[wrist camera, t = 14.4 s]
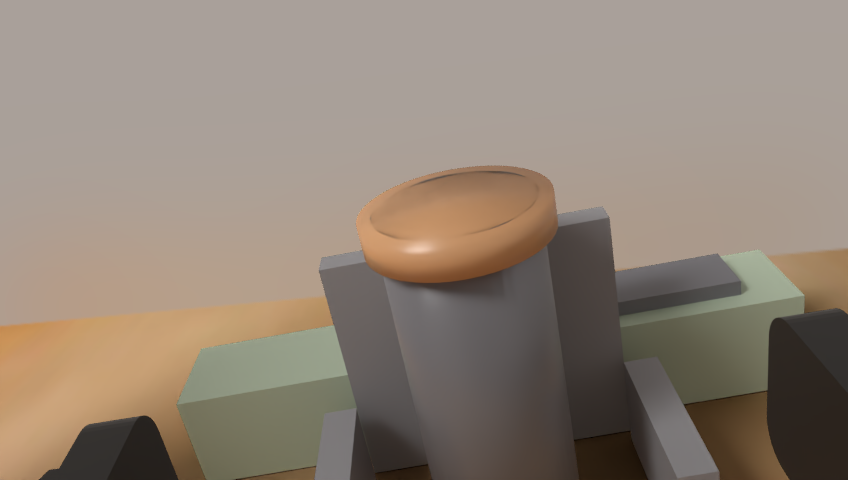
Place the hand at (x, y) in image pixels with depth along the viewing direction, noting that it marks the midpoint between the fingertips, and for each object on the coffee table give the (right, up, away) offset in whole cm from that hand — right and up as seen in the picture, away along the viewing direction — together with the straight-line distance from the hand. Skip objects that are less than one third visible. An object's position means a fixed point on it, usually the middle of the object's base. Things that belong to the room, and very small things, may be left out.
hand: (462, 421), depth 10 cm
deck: (+2, -6, +19) cm, 20 cm away
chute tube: (+3, -7, +16) cm, 18 cm away
